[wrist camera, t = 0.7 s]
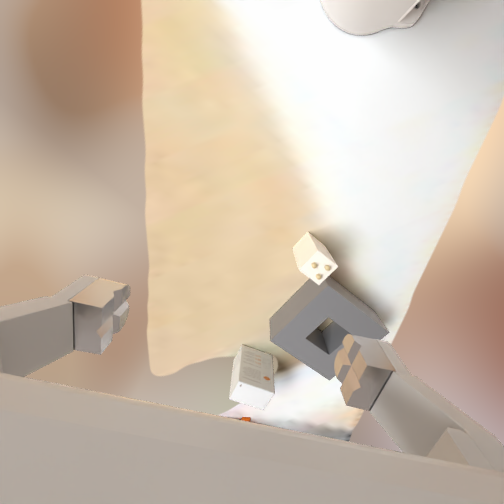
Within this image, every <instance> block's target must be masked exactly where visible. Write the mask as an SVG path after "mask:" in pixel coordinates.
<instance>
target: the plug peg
mask: <svg viewBox="0 0 504 504" xmlns="http://www.w3.org/2000/svg"><path fill="white" fill-rule="evenodd" d="M292 249H293V252H294V255H295V259H296V262H297V265H298V269H299V270H300V271H301V272H302V273H303V274H305V275H306V276H307V277H309V278H310V279H311V280H313V281H314V282H315V283H317V284H318V285H320V284H321V283H322V282H323V281H324V280H325V279H326V278H327V277H328V276H329V275H330V274H331V273H332V272H333V271H334V270H335V269H336V268H337V267H338V265H337V264H336V262H335V261H334V259H333V258H332V256H331V255H330V253H329V252H328V250H327V249H326V247H325V245H324V244H322V243H321V242H320V241H319V240H317V239H316V238H315V237H314V236H312V235H311V234H310V233H309V232H307V233H306V234H305V235H304V236H303V237H302V238H301V239H300V240H299V241H298V243H297V244H296V245H295V246H294V247H293V248H292Z"/></svg>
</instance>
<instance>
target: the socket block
mask: <svg viewBox="0 0 504 504" xmlns="http://www.w3.org/2000/svg"><path fill="white" fill-rule="evenodd" d="M328 317H329V318H330V319H332V320H333V322H332V323H331V324H330V325H329V326H328V327H327V328H325V329H324V330H323V331H322V332H321V331H319V330H318V329H317V327H318V326H319V325H320V324H322V323H323V322H324V321H325V320H326V319H327V318H328ZM388 333H389V331H388V330H387V328H386V327H385V325H384V324H383V323H382V321H381V320H380V318H379V317H378V315H377V314H376V313H375V311H374V310H372V309H371V308H370V307H369V306H367V305H366V304H365V303H363V302H362V301H361V300H360V299H358V298H357V297H356V296H354V295H353V294H352V293H351V292H349V291H348V290H347V289H345V288H344V287H343V286H342V285H340V284H339V283H338V282H337V281H335V280H334V279H333V278H331V277H330V276H328V277H327V278H326V279H325V280H324V281H323V282H322V283H321V284H320V285H318V284H317V283H315V282H314V281H313V280H311V279H309V280H308V281H307V282H306V283H305V284H304V285H303V286H302V287H301V288H300V289H299V290H298V291H297V292H296V293H295V294H294V295H293V296H292V297H291V298H290V299H289V300H288V301H287V302H286V303H285V304H284V305H283V306H282V307H281V308H280V309H279V310H278V311H277V312H276V313H275V314H274V315H273V316H272V317H271V318H270V341H271V342H273V343H274V344H276V345H277V346H279V347H280V348H282V349H283V350H285V351H286V352H288V353H289V354H291V355H292V356H294V357H295V358H297V359H298V360H300V361H301V362H303V363H304V364H306V365H307V366H309V367H310V368H312V369H313V370H315V371H316V372H318V373H319V374H321V375H322V376H324V377H325V378H327V379H328V380H331V379H332V378H333V377H334V376H336V374H335V369H334V363H335V358H336V355H337V353H338V351H340V350H341V349H343V348H344V346H343V343H342V342H343V340H344V337H345V336H346V335H347V334H351V335H356V336H361V337H365V338H370V339H377V340H381V339H382V338H383V337H384V336H386V335H387V334H388Z"/></svg>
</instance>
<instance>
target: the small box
mask: <svg viewBox="0 0 504 504" xmlns="http://www.w3.org/2000/svg"><path fill="white" fill-rule="evenodd" d="M232 370H233V371H232V378H231V387H230V396H229V399H230V400H233V401H236V402H239V403H242V404H245V405H248V406H252V407H255V408H258V409H261V410H264V409H265V407H266V406H267V404H268V403H269V401H270V400H271V398H272V397H273V395H274V394H275V389H274V373H273V357H272V355H270V354H267V353H265V352H262V351H259V350H256V349H253V348H251V347H248V346H245V345H241V347H240V349H239V351H238V353H237V355H236V357H235V359H234V361H233V369H232Z"/></svg>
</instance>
